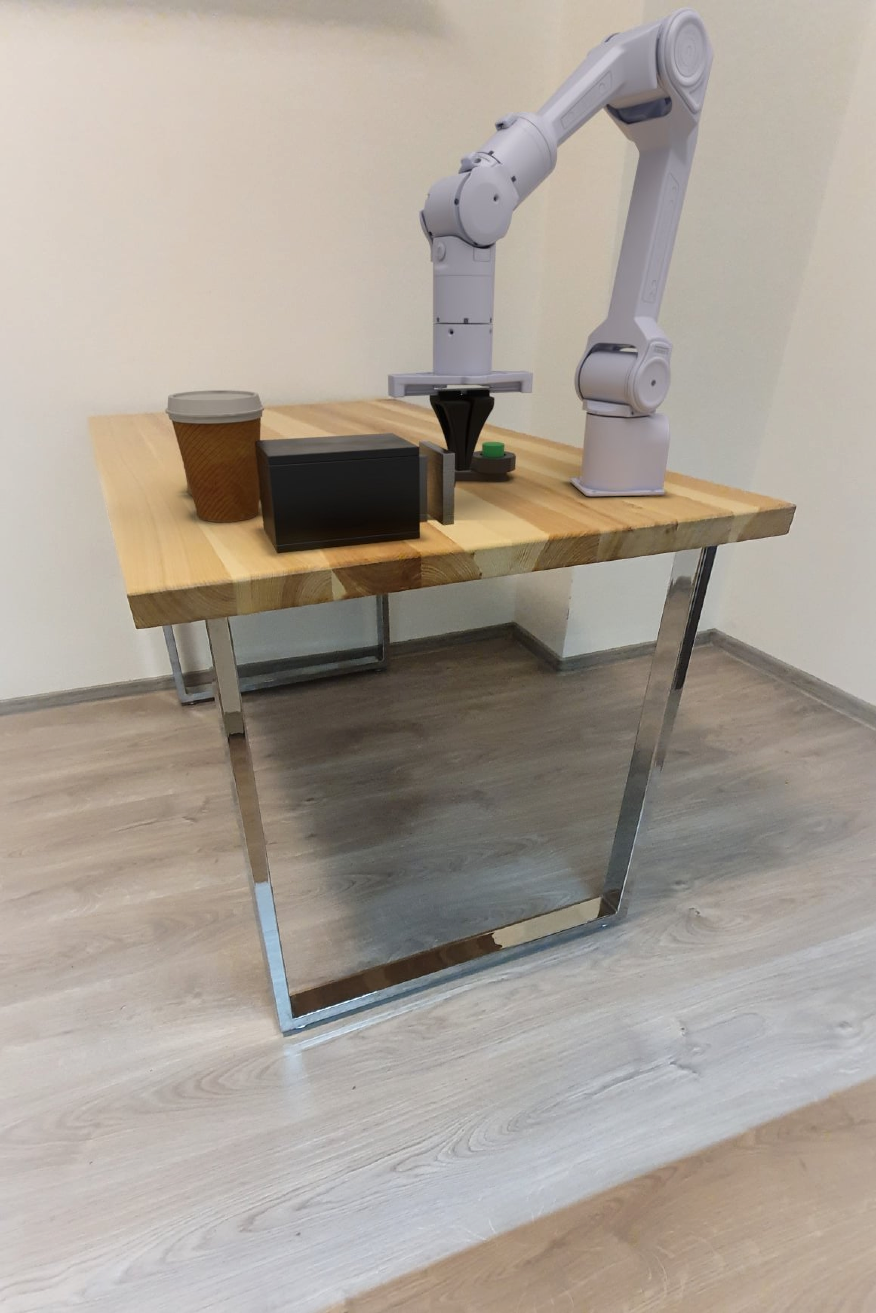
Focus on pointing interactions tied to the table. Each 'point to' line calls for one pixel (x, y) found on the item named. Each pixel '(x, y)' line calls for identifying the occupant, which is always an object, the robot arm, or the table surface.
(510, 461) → the control block
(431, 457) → the drawer
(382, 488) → the cabinet
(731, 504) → the table surface
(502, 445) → the button
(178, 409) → the disposable coffee cup
